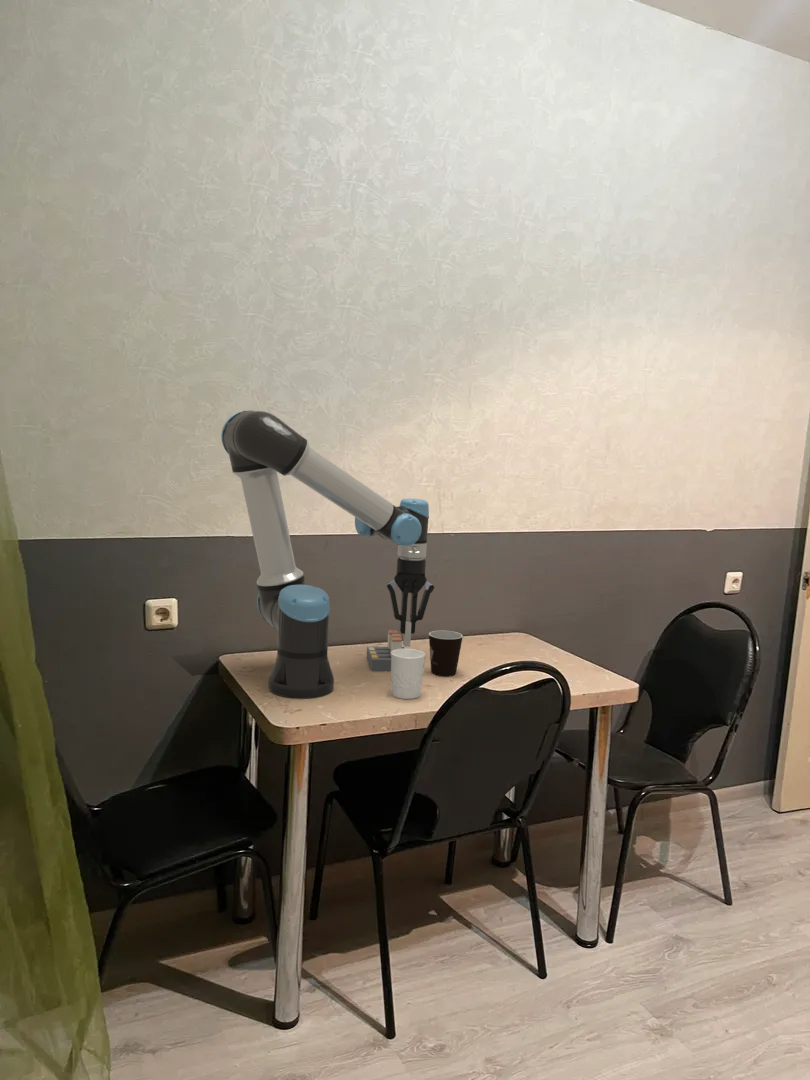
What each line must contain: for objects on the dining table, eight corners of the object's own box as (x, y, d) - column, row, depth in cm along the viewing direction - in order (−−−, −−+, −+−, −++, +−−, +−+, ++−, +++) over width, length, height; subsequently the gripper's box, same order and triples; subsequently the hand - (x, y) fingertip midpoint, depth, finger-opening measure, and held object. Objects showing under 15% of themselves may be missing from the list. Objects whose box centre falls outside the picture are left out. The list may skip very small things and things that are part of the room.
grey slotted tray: (371, 671, 205) (372, 658, 205) (366, 657, 217) (367, 645, 216) (410, 671, 207) (411, 659, 206) (403, 657, 218) (404, 646, 218)
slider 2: (392, 653, 210) (392, 636, 209) (390, 650, 213) (391, 633, 212) (401, 653, 211) (402, 636, 210) (400, 650, 213) (401, 633, 212)
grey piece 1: (391, 656, 207) (392, 639, 206) (389, 654, 209) (390, 637, 208) (400, 657, 207) (401, 639, 206) (399, 654, 209) (400, 637, 209)
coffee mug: (457, 679, 202) (460, 640, 200) (423, 675, 204) (426, 637, 202) (463, 666, 213) (466, 629, 212) (431, 663, 215) (433, 626, 213)
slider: (388, 649, 213) (389, 632, 213) (387, 646, 216) (388, 630, 215) (397, 649, 214) (398, 632, 213) (396, 646, 216) (397, 630, 216)
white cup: (410, 687, 194) (412, 646, 193) (429, 697, 188) (431, 655, 186) (382, 691, 190) (384, 650, 188) (400, 702, 183) (402, 659, 182)
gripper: (388, 559, 207) (384, 648, 211) (438, 561, 209) (433, 649, 213) (385, 554, 215) (380, 641, 218) (433, 556, 217) (428, 641, 220)
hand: (406, 645), depth 215 cm, fingers closed
